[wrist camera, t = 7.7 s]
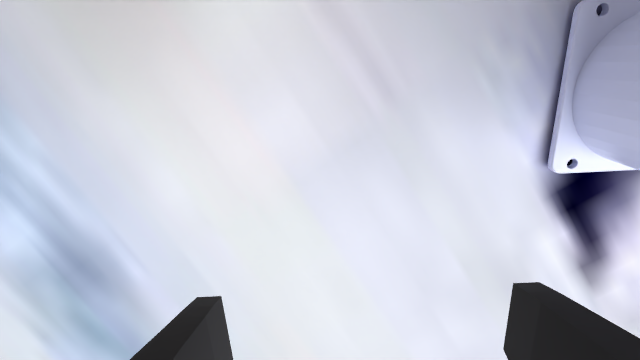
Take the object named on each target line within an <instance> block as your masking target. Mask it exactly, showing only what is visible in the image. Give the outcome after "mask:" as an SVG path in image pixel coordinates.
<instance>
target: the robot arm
mask: <svg viewBox="0 0 640 360" xmlns="http://www.w3.org/2000/svg"><path fill="white" fill-rule="evenodd" d="M599 5H601V7H602V12H601V14H600V15H599V16H598V15H597V14H596V9H597V7H598V6H599ZM571 159H572V164H571V165H569V166H567V163H568V161H569V160H571ZM548 167H549V169H550V170H551V171H553V172H555V173H579V172H600V171H620V170H640V0H582V1H581V2H579V3H578V4H577V6H576V7H575V9H574V12H573V18H572V23H571V29H570V35H569V41H568V47H567V53H566V59H565V65H564V70H563V76H562V82H561V88H560V94H559V100H558V106H557V112H556V117H555V123H554V129H553V135H552V141H551V147H550V153H549V159H548ZM504 351H505V354H506V356H507V358H508V360H640V338H638V337H636V336H634V335H633V334H631V333H629V332H627V331H626V330H624V329H622V328H620V327H619V326H617V325H615V324H613V323H612V322H610V321H608V320H606V319H605V318H603V317H601V316H599V315H598V314H596V313H594V312H592V311H591V310H589V309H587V308H585V307H584V306H582V305H580V304H578V303H577V302H575V301H573V300H571V299H570V298H568V297H566V296H564V295H562V294H561V293H559V292H557V291H555V290H553V289H551V288H549V287H547V286H545V285H543V284H541V283H539V282H535V283H513V289H512V296H511V302H510V309H509V316H508V322H507V329H506V336H505V342H504ZM130 360H233V356H232V351H231V346H230V340H229V335H228V330H227V325H226V319H225V314H224V309H223V303H222V298H221V296H216V297H197V298H196V299H195V300H194V301H192V302H191V303H190V304H189V305H188V306H187V307H186V308H185V309H184V310H183V311H182V312H180V313H179V314H178V315H177V316H176V317H175V318H174V319H173V320H172V321H171V322H170V323H169V324H168V325H167V326H166V327H165V328H163V329H162V330H161V331H160V332H159V333H158V334H157V335H156V336H155V337H154V338H153V339H152V340H151V341H149V342H148V343H147V344H146V345H145V346H144V347H143V348H142V349H141V350H140V351H139V352H137V353H136V354H135V355H134V356H133V357H132V358H131V359H130Z"/></svg>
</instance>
